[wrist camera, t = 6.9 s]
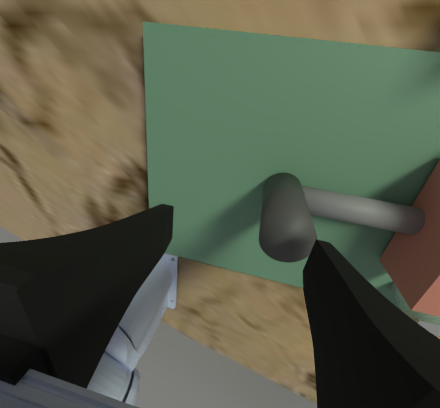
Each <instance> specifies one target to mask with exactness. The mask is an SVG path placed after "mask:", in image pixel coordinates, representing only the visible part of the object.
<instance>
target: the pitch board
mask: <svg viewBox="0 0 440 408" xmlns="http://www.w3.org/2000/svg"><path fill="white" fill-rule="evenodd" d="M143 45H144V75H145V105H146V135H147V164H148V194H149V209H150V208H152V207H155V206H157V205H160V204H166V205H171V206H174V213H173V235H172V240H171V242H170V244H169V246H168V248H167V250H166V251H165V253H166V254H170V255H174V256H178V257H182V258H186V259H190V260H194V261H198V262H202V263H206V264H210V265H214V266H218V267H222V268H226V269H230V270H234V271H238V272H242V273H246V274H250V275H254V276H258V277H262V278H265V279H269V280H273V281H277V282H281V283H285V284H289V285H293V286H297V287H301V288H303V269H304V266H305V264H306V262H307V259H308V257H309V256H308V257H307V258H305V259H303V260H301V261H297V262H290V263H287V262H280V261H277V260H274V259H272V258H270V257H269V256H267V255H266V254H265V253H264V252H263V250H262V249H261V247H260V244H259V229H260V219H261V210H262V200H263V191H264V185H265V183H266V181H267V180H268V179H269V178H270V177H271V176H272V175H274V174H277V173H290V174H292V175H294V176H296V177H297V178H298V179H299V181H300V182H301V185H302V186H307V187H312V188H318V189H323V190H328V191H333V192H339V193H344V194H349V195H354V196H360V197H365V198H370V199H375V200H381V201H386V202H391V203H396V204H402V205H407V206H412V205H413V203H414V201H415V200H416V198H417V196H418V195H419V193H420V191H421V190H422V188H423V186H424V185H425V183H426V182H427V180H428V178H429V177H430V175H431V173H432V172H433V170H434V168H435V167H436V165H437V163H438V162H439V160H440V52H432V51H423V50H413V49H403V48H394V47H384V46H374V45H365V44H355V43H345V42H336V41H326V40H316V39H307V38H297V37H287V36H278V35H268V34H258V33H249V32H239V31H229V30H220V29H210V28H200V27H190V26H181V25H171V24H161V23H152V22H143ZM311 217H312V221H313V224H314V227H315V230H316V234H317V240H322V241H326V242H330V243H331V244H332V245H333V246H334V247H335V248H336V249H337V250H338V251H339V252H340V253H341V254H342V255H343V256H344V257H345V258H346V259H347V261H348V262H349V263H350V264H351V265H352V266H353V267H354V268H355V269H356V270H357V271H358V272H359V273H360V274H361V275H362V276H363V277H364V278H365V279H366V280H367V281H368V282H369V283H370V284H372V285H373V286H374V287H375V288H376V289H377V290H378V291H379V292H380V293H381V294H382V295H383V296H385V297H386V298H387V299H388V300H389V301H390V302H392V303H393V304H394V305H395V306H396V307H398V308H399V309H400V307H399V305H398V303H397V302H396V300H395V298H394V297H393V295H392V293H391V292H390V290H389V287H390V285H391V284H392V282H393V281H392V279H391V277H390V276H389V274H388V273H387V271H386V270H385V268H384V266H383V265H382V263H381V262H380V260H379V259H380V257H381V256H382V254H383V253H384V251H385V249H386V248H387V246H388V244H389V243H390V241H391V239H392V238H393V236H394V234H395V233H396V232H395V231H390V230H385V229H380V228H375V227H370V226H366V225H361V224H356V223H351V222H346V221H341V220H337V219H332V218H327V217H322V216H317V215H312V214H311ZM400 310H401V309H400ZM401 311H402V310H401Z"/></svg>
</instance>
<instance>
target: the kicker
mask: <svg viewBox="0 0 440 408" xmlns="http://www.w3.org/2000/svg"><path fill="white" fill-rule="evenodd" d="M311 214H312V215H317V216H322V217H327V218H332V219H337V220H341V221H346V222H351V223H356V224H361V225H366V226H370V227H375V228H380V229H385V230H390V231H395V232H396V233H395V234H394V236H393V238H392V239H391V241H390V243H389V244H388V246H387V248H386V249H385V251H384V253H383V254H382V256H381V257H380V259H379V260H380V262H381V263H382V265H383V266H384V268H385V270H386V271H387V273H388V274H389V276H390V277H391V279H392V281H393V282H394V284H395V285H396V287H397V288H398V290H399V292H400V293H401V295H402V296H403V298H404V299H405V301H406V303H407V304H408V306H409V307H410V309H411V310H413V311H417V312H421V313H425V314H429V315H433V316H437V317H440V160H439V162H438V163H437V165H436V167H435V168H434V170H433V172H432V173H431V175H430V177H429V178H428V180H427V182H426V183H425V185H424V186H423V188H422V190H421V191H420V193H419V195H418V196H417V198H416V200H415V201H414V203H413V205H412V206H407V205H402V204H396V203H391V202H386V201H381V200H375V199H370V198H365V197H360V196H354V195H349V194H344V193H339V192H333V191H328V190H323V189H318V188H312V187H307V186H302V185H301V182H300V181H299V179H298V178H297V177H296V176H294V175H292V174H290V173H277V174H274V175H272V176H271V177H270V178H269V179H268V180H267V181H266V183H265V185H264V191H263V200H262V210H261V219H260V229H259V244H260V247H261V249H262V250H263V252H264V253H265V254H266V255H267V256H269V257H270V258H272V259H274V260H277V261H280V262H287V263H290V262H297V261H301V260H303V259H305V258H307V257H308V256H309V255H310V252H311V250H312V248H313V245H314V243H315V241H316V239H317V234H316V230H315V227H314V224H313V221H312V217H311Z"/></svg>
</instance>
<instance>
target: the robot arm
mask: <svg viewBox="0 0 440 408" xmlns="http://www.w3.org/2000/svg"><path fill="white" fill-rule="evenodd" d="M173 213H174V206H171V205H166V204H160V205H157V206H155V207H152V208H150V209H147V210H145V211H142V212H140V213H137V214H135V215H132V216H130V217H127V218H124V219H121V220H119V221H116V222H113V223H110V224H107V225H104V226H100V227H97V228H93V229H89V230H85V231H81V232H76V233H71V234H66V235H61V236H56V237H50V238H43V239H36V240H28V241H19V242H7V243H0V408H138V407H136V406H134V405H135V402H136V399H137V396H138V391H139V379H140V375H139V372H138V370H137V369H136V368H135V366H136V364H137V362H138V360H139V358H140V357H141V355H142V354H143V353H144V352H145V350H146V349H147V347H148V345H149V343H150V341H151V339H152V337H153V335H154V333H155V331H156V329H157V326H158V325H159V323H160V321H161V319H162V317H163V315H164V313H165V311H166V309H167V307H168V308H172V309H173V308H175V307H176V297H177V274H178V256H174V255H170V254H166V253H165V251H166V250H167V248H168V246H169V244H170V242H171V240H172V235H173ZM173 258H174V259H173ZM303 290H304V296H305V302H306V308H307V313H308V318H309V324H310V329H311V334H312V341H313V348H314V360H315V373H316V389H317V408H440V339H438V338H437V337H436V336H434V335H433V334H432V333H430V332H429V331H427V330H426V329H425V328H423V327H422V326H421V325H419V324H418V323H417V322H415V321H414V320H413V319H411V318H410V317H409V316H408V315H406V314H405V313H404V312H403V311H401V310H400V309H399V308H398V307H396V306H395V305H394V304H393V303H392V302H390V301H389V300H388V299H387V298H386V297H385V296H383V295H382V294H381V293H380V292H379V291H378V290H377V289H376V288H375V287H374V286H373V285H372V284H370V283H369V282H368V281H367V280H366V279H365V278H364V277H363V276H362V275H361V274H360V273H359V272H358V271H357V270H356V269H355V268H354V267H353V266H352V265H351V264H350V263H349V262H348V261H347V259H346V258H345V257H344V256H343V255H342V254H341V253H340V252H339V251H338V250H337V249H336V248H335V247H334V246H333V245H332V244H331V243H330V242H326V241H322V240H317V239H316V241H315V243H314V245H313V248H312V250H311V252H310V255H309V257H308V259H307V262H306V264H305V266H304V269H303Z"/></svg>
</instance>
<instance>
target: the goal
mask: <svg viewBox="0 0 440 408" xmlns="http://www.w3.org/2000/svg"><path fill="white" fill-rule="evenodd" d="M389 290H390V292H391V293H392V295H393V297H394V298H395V300H396V302H397V303H398V305H399V307H400V309H401V310H402V311H403V312H404V313H405V314H406V315H408V316H409V317H410V318H411V319H413V320H414V321H415V322H417V323H418V324H419V325H421V326H422V327H423V328H425V329H426V330H427V331H429V332H430V333H432V334H434V335H437V336H440V317H437V316H433V315H429V314H425V313H421V312H417V311H413V310H411V309H410V307H409V306H408V304H407V303H406V301H405V299H404V298H403V296H402V295H401V293H400V292H399V290H398V288H397V287H396V285H395V284H394V282H392V284H391V285H390V287H389Z"/></svg>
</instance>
